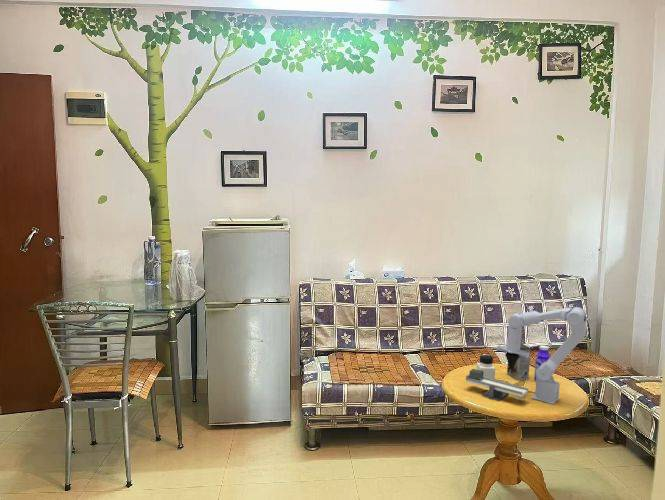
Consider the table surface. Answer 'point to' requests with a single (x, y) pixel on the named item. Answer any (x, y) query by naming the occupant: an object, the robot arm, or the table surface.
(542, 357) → the bottle
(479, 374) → the block
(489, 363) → the medicine bottle
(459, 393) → the table surface
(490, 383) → the beam
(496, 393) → the pivot stand
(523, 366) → the coffee box
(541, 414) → the table surface
